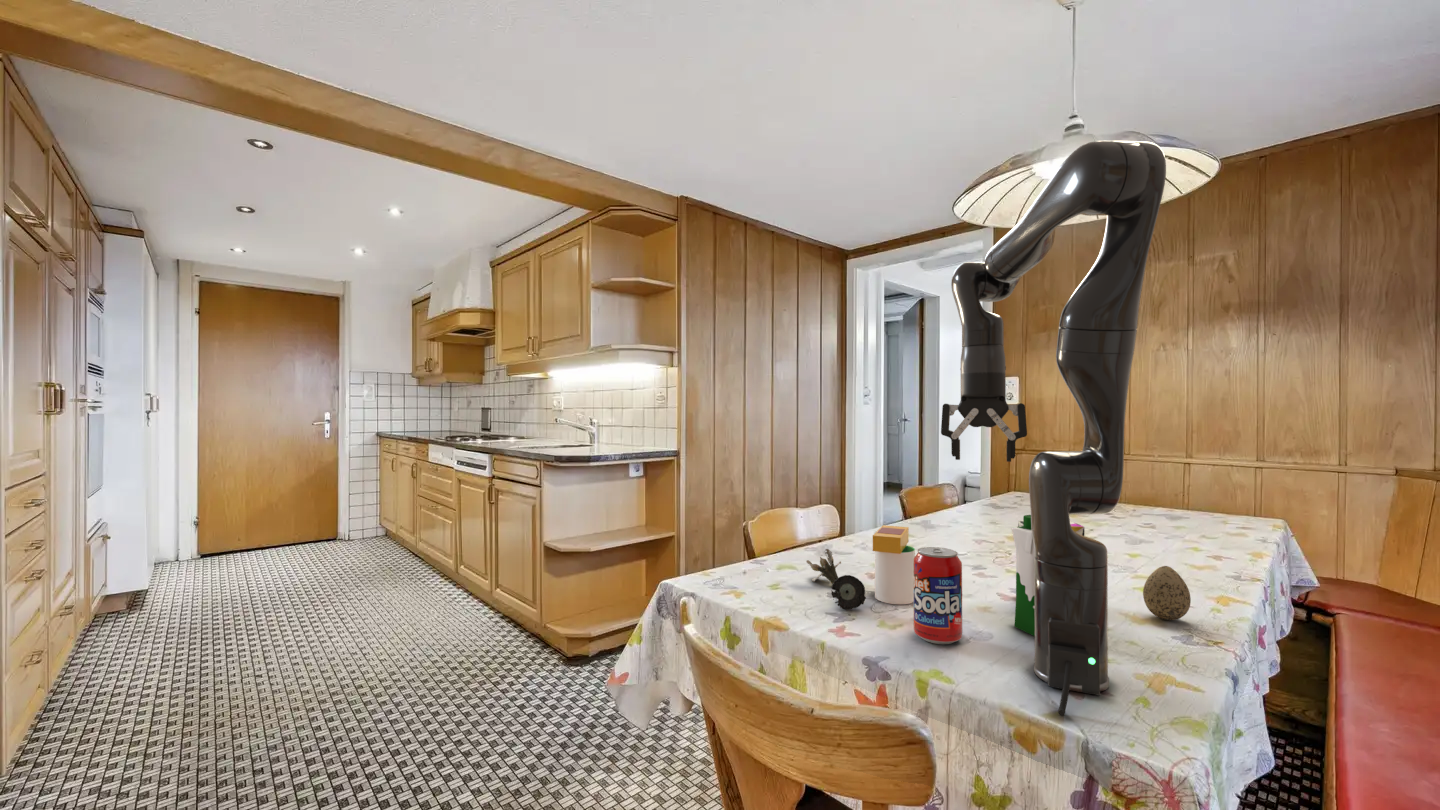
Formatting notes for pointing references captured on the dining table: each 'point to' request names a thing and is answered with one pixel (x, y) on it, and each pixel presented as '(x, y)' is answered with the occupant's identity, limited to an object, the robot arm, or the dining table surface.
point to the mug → (895, 576)
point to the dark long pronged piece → (841, 584)
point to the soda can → (938, 595)
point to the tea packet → (891, 539)
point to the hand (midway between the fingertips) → (983, 460)
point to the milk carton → (1025, 577)
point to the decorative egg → (1166, 594)
